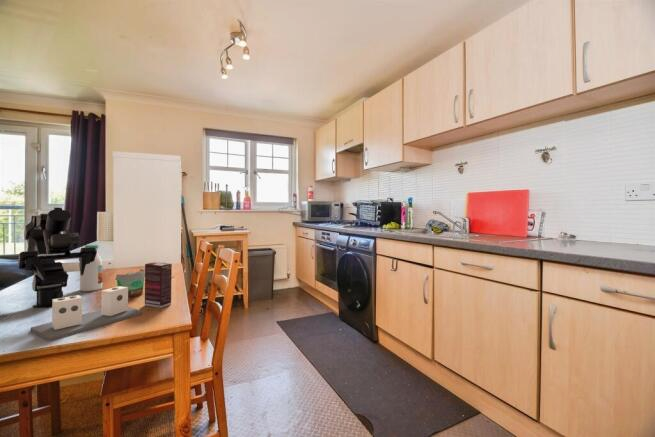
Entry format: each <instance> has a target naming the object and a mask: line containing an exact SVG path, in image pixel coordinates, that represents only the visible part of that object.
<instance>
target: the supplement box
mask: <svg viewBox="0 0 655 437" xmlns="http://www.w3.org/2000/svg"><path fill="white" fill-rule="evenodd" d="M172 266H173V265H172V263H165V262H156V261H155V262H150V263H145V264H144V270H145V277H144V306H147V307H152V308H153V307H154V308H158V309H160V308H161V309H162V308H165V307H168V306H171V305H172V269H173V268H172Z"/></svg>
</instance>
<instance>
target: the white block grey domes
mask: <svg viewBox="0 0 655 437" xmlns="http://www.w3.org/2000/svg"><path fill="white" fill-rule="evenodd" d="M51 309H52V310H51V312H52V314H51V316H52V317H51V318H52V319H51V320H52V321H51V322H52V327H53V328H54V330H57V329H61V328H66V327H70V326H75V325H79V324H82V314H83V297H82V296H81V295H80V294H79V295H78V294H77V295H70V296H65V297H64V296H63V298H58V299H52V307H51Z"/></svg>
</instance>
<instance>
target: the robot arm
mask: <svg viewBox="0 0 655 437" xmlns="http://www.w3.org/2000/svg"><path fill="white" fill-rule="evenodd" d="M71 223H72V214H71V213H70V212H69V211H67V210H65V209H63V208H62V207H53V209H51V210H50V211H49V212H47V213H40V214H39V215H34V216H33V217H32V221H30V222H29V223H27V224H26V225H25V228H24V236H23V237H24V241H27V242H26V243H27V245H28V246H30V247H33V248H34V250H29V251H27V250H25V251H20V253H19V255H18V260H17V267H18V269H20V270H25V271H30V272H32V273H33V274H34V275H33V278H32V279H33V280H32V283H31V287H32V290H33V291H34V292H36V304H34V305H32V308H52V299H58V298H64V291H63V288H66V287H68V280H69V274H68V273H67V272H68V271H66V270H65V269H64V266H63V263H62V262H61V261H64V260H65V261H66V260H76V259H78V261H79V263H78V265H79V266H78V267H79V274H80V273H81V275H83V274H84V270H85V266H86V264H90V262H93V261H94V260H95V257H96V254H97V250H96V248H95V247H85V246H84V247H81V248H80V251H79V252H78V251H77V252H76V251H75V252H71V251H72V250H73V244H78V243H79V242H80V235H79V232H71V233H67V231H68V229H69V226H70V224H71Z"/></svg>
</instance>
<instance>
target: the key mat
mask: <svg viewBox="0 0 655 437" xmlns="http://www.w3.org/2000/svg"><path fill="white" fill-rule="evenodd" d="M142 314H143V311H142V310H140V309H137V308H133V307H130V306H128V310H127V311H124V312H121V313H118V314H115V315H112V316H106V315H101V309H99V310H95V311H91V312H88V313H84V314H83V313H82V324H79V325H75V326H70V327H66V328H61V329H57V330H54V328H53V327H52V321H50V322H47V323H43V324H40V325H34V326H31V327H30V332H32V333H34V334H36V335H38V336H39V337H41V338H43V339H44V340H46V341H48V342H51V341H52V342H53V341H55V340H58V339H62V338H64V337H68V336H71V335H75V334H78V333H82V332H86V331H89V330H93V329H96V328H98V327H102V326H106V325H109V324H112V323H116V322H119V321H123V320H126V319H130V318H133V317H136V316H140V315H142Z"/></svg>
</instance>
